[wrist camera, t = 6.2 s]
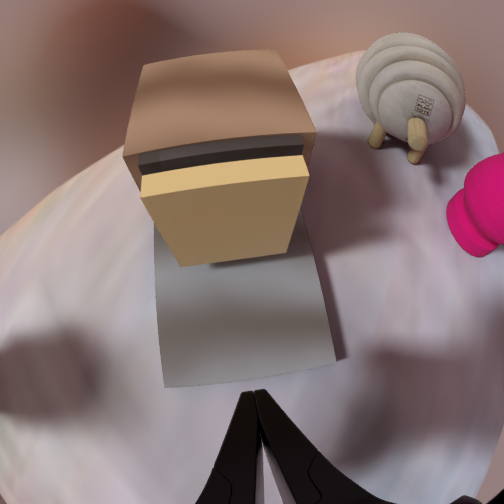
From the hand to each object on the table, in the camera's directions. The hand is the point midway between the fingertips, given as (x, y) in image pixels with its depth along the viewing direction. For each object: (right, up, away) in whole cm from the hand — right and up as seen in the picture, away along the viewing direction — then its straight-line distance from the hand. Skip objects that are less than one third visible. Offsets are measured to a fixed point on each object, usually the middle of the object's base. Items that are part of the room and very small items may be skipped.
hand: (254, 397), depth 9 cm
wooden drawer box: (-2, +6, +10) cm, 12 cm away
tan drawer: (-2, +10, +9) cm, 13 cm away
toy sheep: (+14, +17, +16) cm, 27 cm away
